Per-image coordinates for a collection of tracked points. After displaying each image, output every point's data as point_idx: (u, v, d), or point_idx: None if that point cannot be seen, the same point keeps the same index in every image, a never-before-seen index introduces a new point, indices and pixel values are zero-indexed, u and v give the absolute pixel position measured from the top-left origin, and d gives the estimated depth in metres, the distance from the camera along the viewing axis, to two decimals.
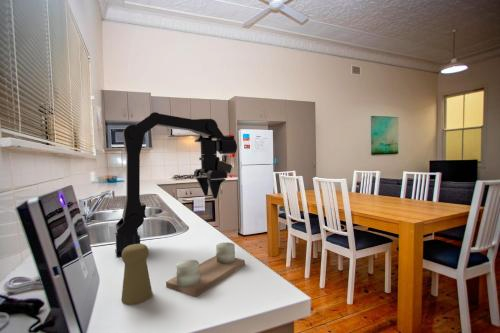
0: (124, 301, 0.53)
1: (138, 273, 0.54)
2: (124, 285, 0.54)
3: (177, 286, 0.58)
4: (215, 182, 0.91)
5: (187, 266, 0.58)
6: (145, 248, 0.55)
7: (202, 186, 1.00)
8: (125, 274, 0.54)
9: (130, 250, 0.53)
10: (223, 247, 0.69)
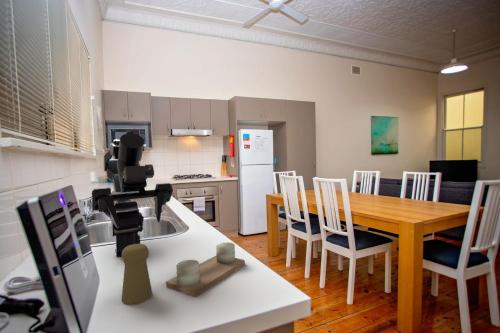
0: (124, 301, 0.53)
1: (138, 273, 0.54)
2: (124, 285, 0.54)
3: (177, 286, 0.58)
4: None
5: (187, 266, 0.58)
6: (145, 248, 0.55)
7: (155, 211, 0.68)
8: (125, 274, 0.54)
9: (130, 250, 0.53)
10: (223, 247, 0.69)
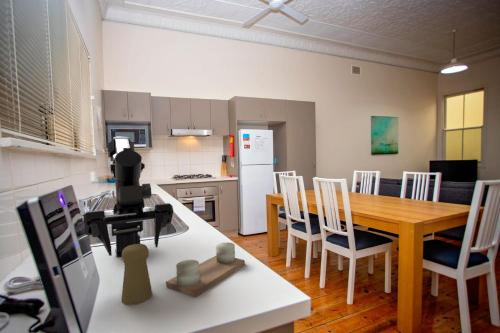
0: (124, 301, 0.53)
1: (138, 273, 0.54)
2: (124, 285, 0.54)
3: (177, 286, 0.58)
4: None
5: (187, 266, 0.58)
6: (145, 248, 0.55)
7: (154, 235, 0.62)
8: (125, 274, 0.54)
9: (130, 250, 0.53)
10: (223, 247, 0.69)
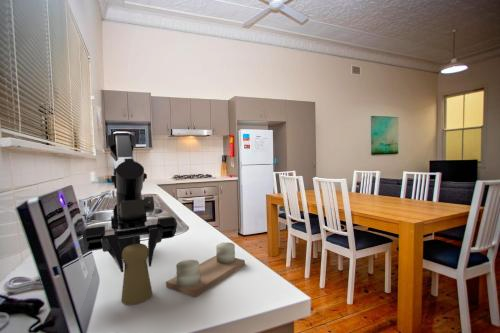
0: (124, 301, 0.53)
1: (138, 272, 0.54)
2: (124, 285, 0.54)
3: (177, 286, 0.58)
4: None
5: (187, 266, 0.58)
6: (145, 248, 0.55)
7: None
8: (125, 274, 0.54)
9: (130, 250, 0.53)
10: (223, 247, 0.69)
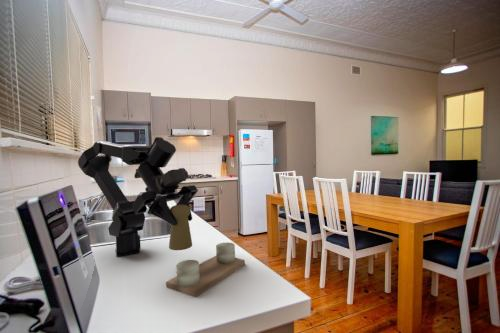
0: (177, 248, 0.67)
1: (186, 225, 0.69)
2: (176, 236, 0.67)
3: (177, 286, 0.58)
4: (160, 208, 0.68)
5: (187, 266, 0.58)
6: None
7: None
8: (176, 227, 0.68)
9: (181, 207, 0.68)
10: (223, 247, 0.69)
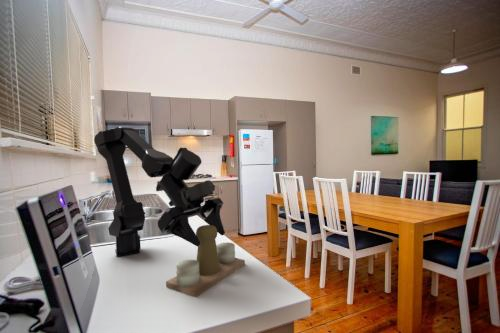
0: (205, 273, 0.62)
1: (214, 247, 0.64)
2: (204, 260, 0.63)
3: (177, 286, 0.58)
4: (181, 226, 0.61)
5: (187, 266, 0.58)
6: (215, 227, 0.66)
7: None
8: (204, 250, 0.63)
9: (209, 229, 0.63)
10: (223, 247, 0.69)
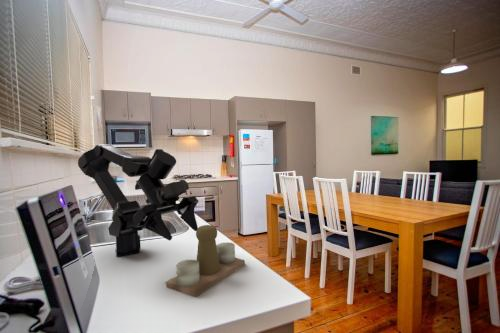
0: (205, 273, 0.62)
1: (214, 247, 0.64)
2: (204, 260, 0.63)
3: (177, 286, 0.58)
4: (155, 222, 0.66)
5: (187, 266, 0.58)
6: (215, 227, 0.66)
7: (187, 222, 0.75)
8: (204, 250, 0.63)
9: (209, 229, 0.63)
10: (223, 247, 0.69)
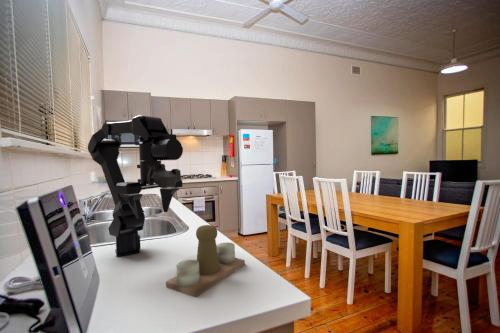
0: (205, 273, 0.62)
1: (214, 247, 0.64)
2: (204, 260, 0.63)
3: (177, 286, 0.58)
4: (133, 198, 0.70)
5: (187, 266, 0.58)
6: (215, 227, 0.66)
7: (162, 200, 0.80)
8: (204, 250, 0.63)
9: (209, 229, 0.63)
10: (223, 247, 0.69)
